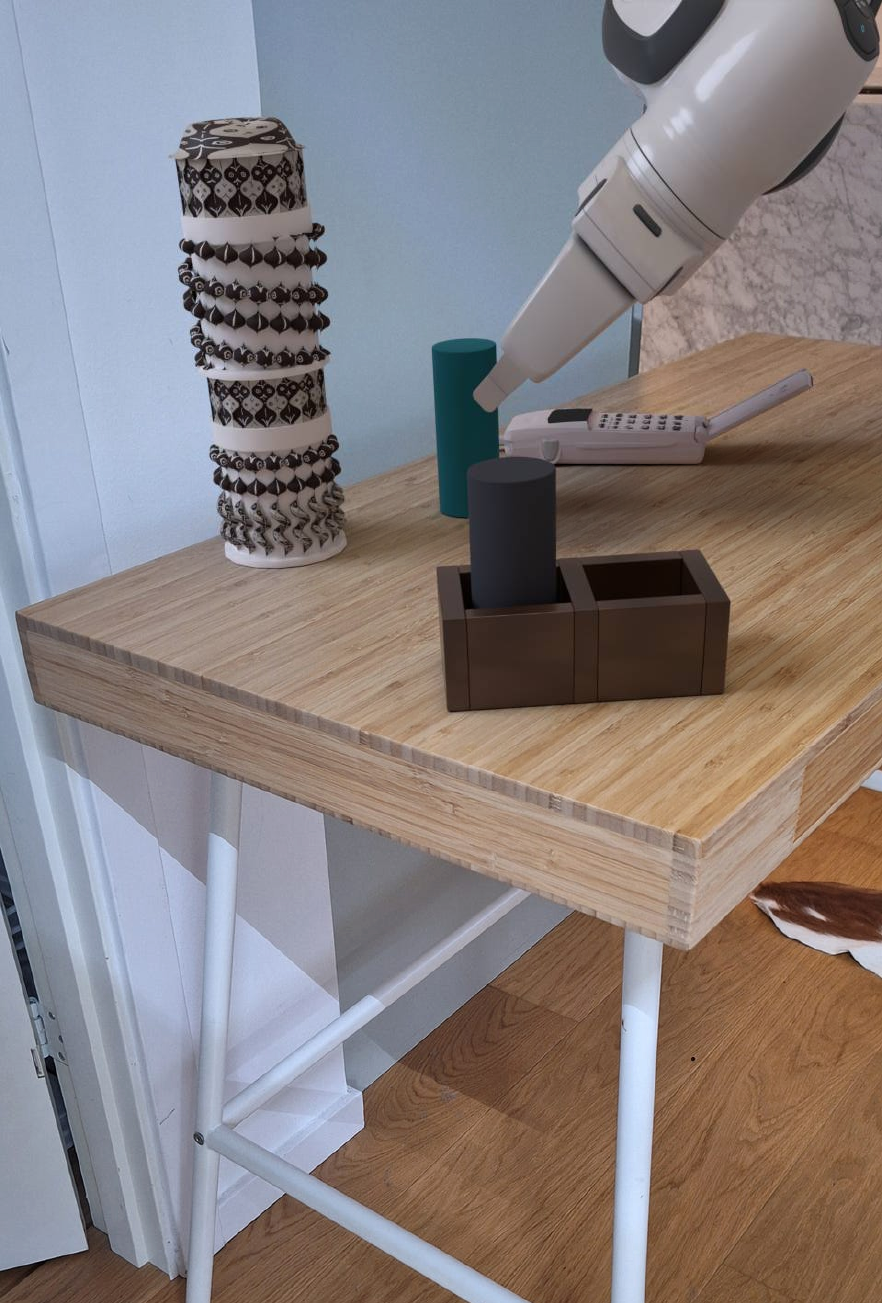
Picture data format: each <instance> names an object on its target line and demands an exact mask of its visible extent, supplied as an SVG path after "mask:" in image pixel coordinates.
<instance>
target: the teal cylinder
mask: <svg viewBox="0 0 882 1303" xmlns="http://www.w3.org/2000/svg"><path fill="white" fill-rule="evenodd" d="M497 347H498V346H497V342H496V341H494V340H491V339H486V338H479V337H478V338H476V337H467V338H466V337H465V338H454V339H453V338H452V339H447V340H443V341H438V342H437V343H434V344H433V345H431V363H432V364H431V366H432V380H433V381H432V384H433V402H434V404H433V405H434V420H435V423H434V424H435V440H436V458H437V459H436V461H437V478H438V479H437V480H438V497H439V499H438V500H439V510H440V512H441V513H442V514H443V515H446V516H448V517H453V518H463V519H464V518H465V519H467V518H468V519H469V512H468V487H467V471H468V469H469V468H470V467H471V466H472V465H474V464H476V463H479V462H482V461H485V460H489V459H495V458H500V446H499V435H500V431H499V430H500V428H499V406H498V407H497V408H496V409H495V410H494V411H493V412H487V411H485V410H484V409H483V408H482V407H481V406H480V405H479V404H478V403H477V401H476V400H475V399H474V396H473V393H474V390H475V389H476V388H477V387H478V386H479V385H480V383H481V382H482V381H483V380H484V379H485V378H486V377H487V376H488V374H489V373H490V372H491V370H492V369H493V367H494V366H495V365H496V363H497V362H498V353H497V352H498V350H497V349H498V348H497Z"/></svg>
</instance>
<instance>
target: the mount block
mask: <svg viewBox="0 0 882 1303" xmlns="http://www.w3.org/2000/svg"><path fill="white" fill-rule="evenodd" d="M435 570H436V588H437V604H438V606H437V607H438V621H439V622H438V624H439V626H438V627H439V643H440V644H439V645H440V656H441V666H442V675H443V685H444V686H443V687H444V695H445V696H444V697H445V703H446V704H445V705H446V711H447V712H458V711H459V712H460V711H470V710H471V711H473V710H474V711H475V710H487V709H505V708H506V709H507V708H518V707H520V708H521V707H533V706H534V707H535V706H550V705H551V706H552V705H566V704H581V703H582V704H584V703H596V702H609V701H623V700H624V701H625V700H639V699H654V698H655V699H656V698H669V697H686V696H699V695H703V696H704V695H716V694H717V695H718V694H720V695H721V694H724V693H725V685H726V684H725V683H726V673H727V672H726V670H727V656H728V644H729V632H730V631H729V630H730V619H731V618H730V617H731V616H730V615H731V604H732V603H731V601H732V600H731V599H730V598H729V595H728V594H727V592H726V590H725V589H724V587H723V585H722V584H721V582H720V581H719V579H718V578H717V576H716V574H715V572H714V571H713V569H712V567H711V566H710V564H709V562H708V561H707V559H706V557H705V555H704V554H703V553H702V551H701V549H686V550H679V551H678V550H671V551H669V550H667V551H655V552H654V551H653V552H638V553H623V554H621V553H620V554H607V555H606V554H605V555H591V556H580V557H579V556H577V557H576V556H575V557H561V558H560V557H559V558H556V604H544V605H529V606H514V607H498V608H483V609H472V587H471V563H469V564H460V565H457V564H456V565H455V564H454V565H440V566H436V567H435Z"/></svg>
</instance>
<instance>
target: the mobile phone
mask: <svg viewBox="0 0 882 1303" xmlns="http://www.w3.org/2000/svg"><path fill="white" fill-rule="evenodd" d="M812 388H814V378H813V376H812V374H811V373H810V371H809V370H808V369H806V368H805V367H802V368H801V369H798V370H797V371H794V372H792V373H790V374H788V375H786V376H784V377H783V378H781V379H779V380H777V381H776V382H774V383H772V384H770V385H769V386H767V387H765V388H763V389H761V390H759V391H758V392H756V393H754V394H752V395H750V396H749V397H746V398H744V399H743V400H742V401H739V402H738V403H736V404H733V405H732V406H730V407H728V408H726V409H724V410H723V411H721V412H719V413H717V414H715V415H713V416H712V417H710V418H708V417H707V416H706V415H702V414H699V415H697V414H695V415H693V414H692V415H691V414H660V413H659V414H658V413H657V414H656V413H653V414H652V413H650V414H649V413H625V412H623V413H621V412H620V413H619V412H598V411H597V410H596V409H594V408H593V407H564V408H554V409H553V408H552V409H545V410H544V409H543V410H537V411H531V412H526V413H521V414H518V415H515V416H513V417H512V419H511V420H510V422H509V424H508V426H507V428H506V429H505V432H504V433H503V434H499V447H504V452H505V455H507V456H508V457H532V458H538V459H543V460H546V461H549V462H551V463H553V464H554V465H555V464H556V465H557V464H558V465H562V464H564V465H565V464H567V465H568V464H572V465H573V464H574V465H575V464H576V465H577V464H578V465H579V464H581V465H588V464H589V465H590V464H591V465H593V464H594V465H596V464H597V465H598V464H601V465H698V464H700V463H702V461H703V459H704V456H705V449H706V443H707V442H710V441H713V440H715V439H716V438H718V437H720V436H722V435H724V434H726V433H728V432H730V431H731V430H733V429H736V428H737V427H739V426H742V425H743V424H745V423H747V422H749V421H751V420H753V419H754V418H757V417H759V416H760V415H762V414H765V413H766V412H769V411H770V410H773V409H774V408H777V407H779V406H780V405H782V404H784V403H786V402H789V401H790V400H793V399H794V398H796V397H798V396H800V395H802V394H803V393H805V392H807V391H808V390H811V389H812Z"/></svg>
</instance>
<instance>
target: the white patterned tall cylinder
mask: <svg viewBox="0 0 882 1303" xmlns="http://www.w3.org/2000/svg"><path fill="white" fill-rule="evenodd" d="M306 148H307V147H306V145H304V144H300V143H298V142H297V141H295V138H294V137H293V135H292V134H291V132H290V130H289V128H288V127H287V125H286V124H284V122H283V121H282V120H280V119H279V118H277V117H274V116H273V117H271V116H247V117H246V116H245V117H230V118H220V119H210V120H209V119H208V120H202V121H197V122H193V123H189V125H187V126H186V127H185V129H184V131H183V133H182V136H181V139H180V142H179V146H178V148H177V150H176V151H175V152H174V153H172V154H169V155H168V159H173V160H174V161H175V168H176V174H177V181H178V189H179V196H180V201H181V210H182V211H181V212H180V222H181V229H182V236H183V238H182V239H180V241H179V242H178V248H179V250H180V251H182V252H183V253H184V254H187V255H188V256H187V257H185V260H184V261H182V262H181V263H180V264H179V265H178V267H177V272H178V280H179V282H180V283H181V284H182V285H184V286H186V287H189V288H188V289H186V290H185V291H184V292H183V294H182V300H183V302H182V306H183V309H184V310H185V311H187V312H189V313H190V314H191V315H192V316H193V317H194V318H196V319H197V322H196V324H194V325H193V326H191V327H190V330H189V334H190V343H191V345H192V346H193V347H195V348H196V349H199V350H198V352H197V353H195V355H194V357H193V359H194V361H195V362H194V366H195V367H196V368H197V370H198V374H199V375H200V376H203V377H206V382H207V390H208V397H209V398H208V399H209V403H210V410H211V415H209V418H210V419H209V422H210V423H209V424H210V428H211V435H212V436H211V437H212V444H211V446H210V447H209V454H208V457H209V459H210V460H211V461H212V462H214V463H216V464H217V465H218V467H217V468H215V469H214V471H213V478H212V481H213V483H214V484H215V486H218V487H219V488H220V489H221V490H223V491H222V492H220V494H219V496H218V498H217V501H216V511H217V513H218V515H219V516H220V517H221V518H222V519H221V522H220V528H219V533H220V535H221V537H222V539H224V540H225V543H224V552H225V553H224V554H225V558H226V559H228V560H229V561H231V562H233V563H234V564H236V565H241V566H245V567H250V568H255V569H256V568H259V569H260V568H261V569H283V568H291V567H293V568H294V567H302V566H307V565H310V564H315V563H319V562H322V561H325V560H328V559H330V558H332V557H334V556H336V555H339V554H340V553H341V552H342V551H344V549H345V548H346V547H347V545H348V541H347V536H346V534H345V531H344V530H342V529H343V528H344V527H345V526H346V524H347V521H348V520H347V518H346V517H345V516H346V514H345V511H344V509H342V508H341V507H340V506H341V505H342V504H344V502H345V501H346V500H345V499H346V498H345V495H344V490H343V488H342V486H340V485H339V484H338V483H337V482H335V478H336V477H337V476H339V475H340V474H341V472H342V467H341V465H340V461H339V460H338V459H337V458H335V457H333V456H332V455H333V454H334V453H336V452H337V451H338V450H339V448H340V442H339V440H338V437H337V436H336V435H335V434H334V433H333V426H332V424H333V423H332V416H331V414H332V413H331V409H330V407H329V405H328V403H327V402H328V401H327V390H326V389H327V388H326V380H325V379H326V378H325V370H324V367H326V366H327V365H328V364H329V363H331V358H330V355H332V353H331V352H330V351H329V350H328V349H326V348H324V347H323V346H322V344H321V343H320V340H319V334H320V336H321V334H322V332H323V331H324V330H325V329H327V328H328V327H330V325H331V318H330V317H328V316H327V315H325V313H322V311H321V310H320V309H316V304H317V306H318V307H319V308H320V306H321V304H323V303H325V301H326V300H327V299H328V298H329V291H328V289H327V288H325V287H323V286H321V285H320V284H319V283H318V282H316V281H314V279H313V269H312V268H314V267H315V268H316V271H319V269H320V268H321V267H322V266H323V265H325V264H326V263H327V261H328V255H327V254H326V252H324V251H322V250H321V249H319V248H318V246H317V245H316V246H314V245H313V246H314V247H313V248H314V249H312V247H311V245H310V241H311V240H312V241H313V243H316V242H317V240H318V239H319V238H321V237H322V236H323V235H325V231H326V228H325V225H322V224H320V223H319V222H313V215H312V206H311V204H310V203H309V202H308V194H307V186H306V185H307V184H306V173H305V162H304V153H303V150H304V149H306ZM192 272H193V273H192Z"/></svg>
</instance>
